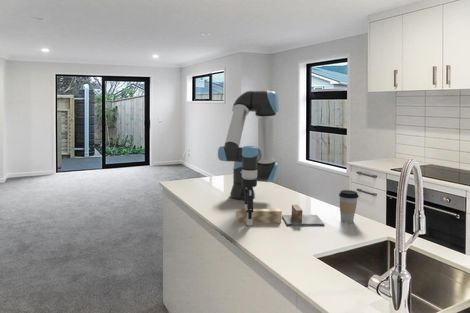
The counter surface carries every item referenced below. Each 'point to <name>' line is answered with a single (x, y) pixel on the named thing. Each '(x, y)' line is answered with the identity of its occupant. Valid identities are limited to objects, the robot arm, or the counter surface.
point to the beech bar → (259, 215)
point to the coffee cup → (348, 205)
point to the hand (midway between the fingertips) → (248, 220)
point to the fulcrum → (301, 218)
